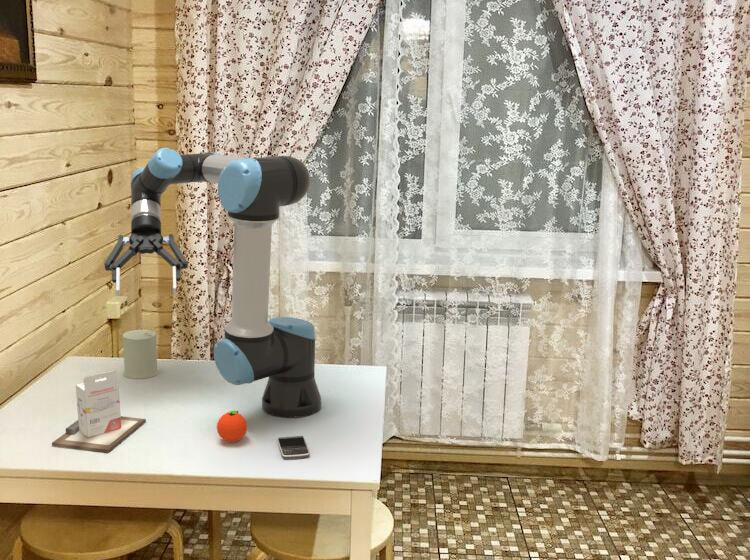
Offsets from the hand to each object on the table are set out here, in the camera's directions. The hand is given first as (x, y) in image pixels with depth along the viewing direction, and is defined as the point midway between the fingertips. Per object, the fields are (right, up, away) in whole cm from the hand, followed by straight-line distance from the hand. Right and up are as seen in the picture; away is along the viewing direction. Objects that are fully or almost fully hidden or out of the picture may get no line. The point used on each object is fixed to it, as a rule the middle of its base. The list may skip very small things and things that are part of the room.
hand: (146, 292), depth 214 cm
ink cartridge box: (-8, -32, -11) cm, 35 cm away
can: (-9, -23, +29) cm, 38 cm away
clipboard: (-8, -33, -11) cm, 36 cm away
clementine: (+23, -34, -13) cm, 44 cm away
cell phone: (+38, -36, -16) cm, 55 cm away
